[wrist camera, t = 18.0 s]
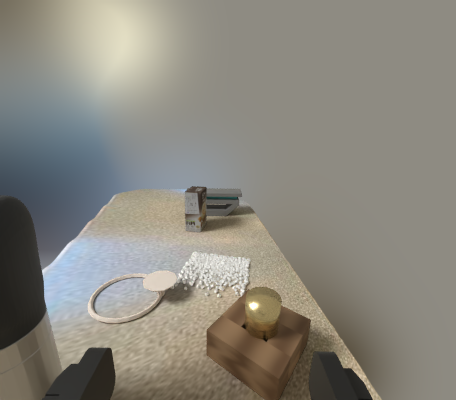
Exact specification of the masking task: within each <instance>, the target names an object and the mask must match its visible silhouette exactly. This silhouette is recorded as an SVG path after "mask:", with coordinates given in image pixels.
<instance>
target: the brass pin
mask: <svg viewBox="0 0 456 400" xmlns="http://www.w3.org/2000/svg"><path fill="white" fill-rule="evenodd" d="M281 302H282V300H281V297H280V295H279V294H278V293H277V292H276V291H274V290H272V289H270V288H266V287H255V288H252V289H251V290H249V291H248V292H247V295H246V306H245V321H244V326H245V329H246V331H247V332H248V333H249V334H250V335H251V336H253V337H255V338H257V339H261V340H264V341H266V342H267V340H268V339H271V338H273V337H274V336H275V335H276V334H277V332H278V327H279V319H280V311H281Z"/></svg>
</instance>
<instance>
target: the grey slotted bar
mask: <svg viewBox="0 0 456 400" xmlns="http://www.w3.org/2000/svg"><path fill="white" fill-rule="evenodd" d="M188 189H189V188H188ZM188 189H187V190H188ZM238 197H242V193H241V190H240V189H207V197H206V204H226V205H206V216H227V215H228V214H229V213H230V212H232V211H233V210H234V209H235V208H236V207H237V206H239V199H238Z"/></svg>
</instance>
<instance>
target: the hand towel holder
mask: <svg viewBox="0 0 456 400" xmlns="http://www.w3.org/2000/svg"><path fill="white" fill-rule="evenodd" d="M134 277H141V278H145V279H144V280H143V285H144V288H146V289H148V290H150V291H153V292H157V295H158V297H157V299H156V300H155V302H154V303H153V304H152V305H150V306H149V307H148V308H146V309H145V310H143V311H141V312H139V313H137V314H134V315H131V316H129V317H123V318H105V317H101V316H99V315H98V314H96V312H95V311H94V309H93V302H94V299H95V297H96V296H97V294H98V293H99V292H100V291H102V290H103V289H104V288H105V287H107V286H109V285H110V284H112V283H115V282H117V281H120V280H123V279H127V278H134ZM176 280H177V277H176V275H175V273H172V272H170V271H156V272H154V273H151V274H149V275H146V274H129V275H124V276H120V277H117V278H115V279H112V280H110V281H108V282H106V283H105V284H103V285H102V286H100V287H99V288H98V289H97V290H96V291H95V292H94V293H93V295H92V296H91V298H90V300H89V303H88V312H89V313H90V315H91V316H92V317H93V318H95V319H96V320H98V321H100V322H104V323H123V322H129V321H132V320H134V319H137V318H140V317H141V316H143V315H145V314H147V313H148V312H150V311H151V310H152V309H153V308H154V307H155V306H156V305H157V304H158V302H159V301H160V300H161V297H162V296H164V294H165V290H167V289H169V288H171V287H172V286H173V285H174V284H175V282H176Z"/></svg>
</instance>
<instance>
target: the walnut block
mask: <svg viewBox="0 0 456 400" xmlns="http://www.w3.org/2000/svg"><path fill="white" fill-rule="evenodd" d="M248 291H249V289H248V290H247V291H246V292H245V293H244V294H243V295H242V296H241V297H240V298H239V299H238V300H237V301H236V302H235V303H234V304H233V305H232V306H231V307H230V308H229V309H228V310H227V311H226V312H225V313H224V314H223V315H222V316H221V317H220V318H218V319H217V320H216V321H215V322H214V323H213V324H212V325H211V326H210V327H209V328H208V329H207V356H209V357H210V358H211V359H212V360H214V361H215V362H216V363H218V364H219V365H220V366H222V367H223V368H224V369H226V370H227V371H228V372H230V373H231V374H232V375H234V376H235V377H236V378H237V379H239V380H240V381H241V382H243V383H244V384H245V385H247V386H248V387H249V388H251V389H252V390H253V391H255V392H256V393H257V394H259V395H260V396H261V397H263V398H264V399H265V400H279V399H280V397H281V395H282V393H283V391H284V389H285V387H286V385H287V383H288V381H289V379H290V377H291V375H292V373H293V371H294V369H295V367H296V365H297V363H298V361H299V359H300V357H301V355H302V353H303V351H304V349H305V347H306V345H307V340H308V334H309V328H310V322H311V320H310V319H308V318H306V317H304V316H302V315H300V314H298V313H296V312H294V311H292V310H290V309H288V308H285V307H283V306H281V311H280V319H279V327H278V332H277V334H276V335H275V336H274V337H273V338H271V339H268V340H267V342H266V341H264V340H261V339H257V338H255V337H253V336H251V335H250V334H249V333H248V332H247V331H246V329H245V326H244V321H245V306H246V295H247V292H248Z"/></svg>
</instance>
